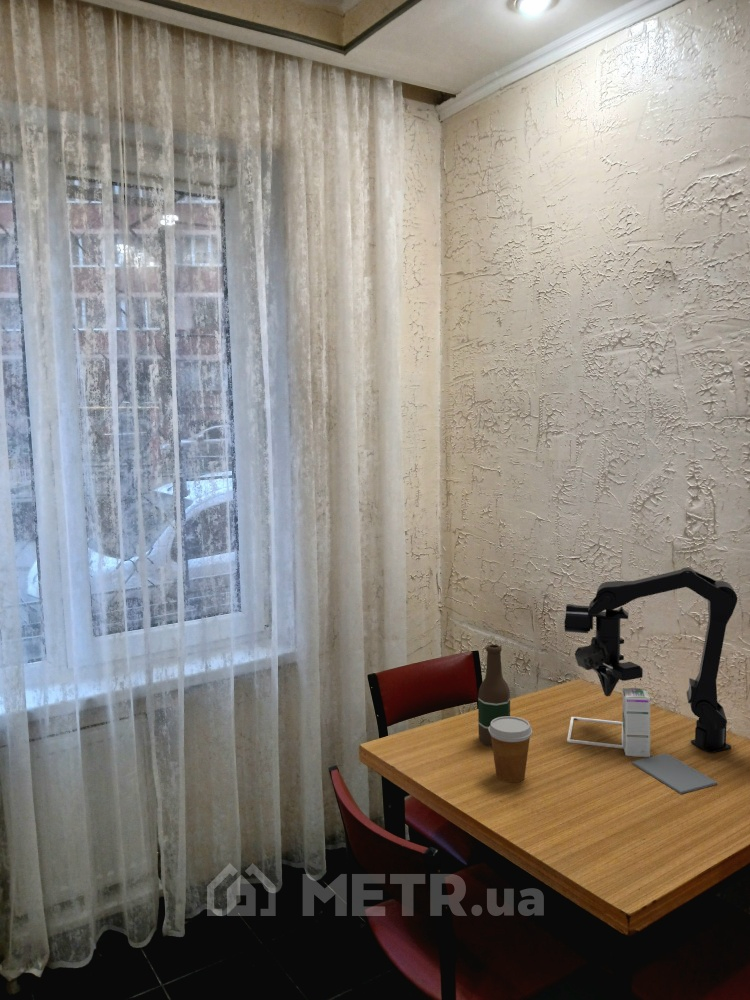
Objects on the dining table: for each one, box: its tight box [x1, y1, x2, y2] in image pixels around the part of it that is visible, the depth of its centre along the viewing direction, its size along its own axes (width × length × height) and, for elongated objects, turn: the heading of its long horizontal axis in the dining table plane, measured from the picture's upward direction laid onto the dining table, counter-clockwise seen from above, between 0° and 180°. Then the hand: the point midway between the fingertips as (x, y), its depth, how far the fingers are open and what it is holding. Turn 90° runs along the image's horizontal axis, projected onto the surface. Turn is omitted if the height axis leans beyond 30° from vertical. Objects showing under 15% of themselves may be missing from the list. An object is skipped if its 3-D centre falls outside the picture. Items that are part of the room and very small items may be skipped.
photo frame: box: [566, 716, 624, 750], centre depth 187 cm, size 15×1×18 cm
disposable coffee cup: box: [489, 715, 533, 783], centre depth 166 cm, size 10×10×12 cm
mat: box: [631, 752, 718, 795], centre depth 166 cm, size 10×15×1 cm, turn 22°
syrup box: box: [622, 687, 651, 758], centre depth 177 cm, size 6×6×14 cm
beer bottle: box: [477, 644, 511, 747], centre depth 184 cm, size 8×8×24 cm
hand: (607, 695), depth 186 cm, fingers closed
